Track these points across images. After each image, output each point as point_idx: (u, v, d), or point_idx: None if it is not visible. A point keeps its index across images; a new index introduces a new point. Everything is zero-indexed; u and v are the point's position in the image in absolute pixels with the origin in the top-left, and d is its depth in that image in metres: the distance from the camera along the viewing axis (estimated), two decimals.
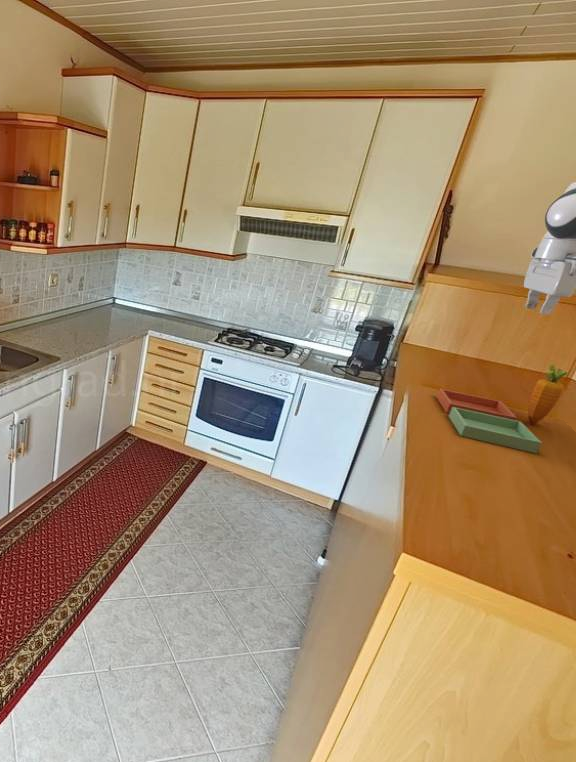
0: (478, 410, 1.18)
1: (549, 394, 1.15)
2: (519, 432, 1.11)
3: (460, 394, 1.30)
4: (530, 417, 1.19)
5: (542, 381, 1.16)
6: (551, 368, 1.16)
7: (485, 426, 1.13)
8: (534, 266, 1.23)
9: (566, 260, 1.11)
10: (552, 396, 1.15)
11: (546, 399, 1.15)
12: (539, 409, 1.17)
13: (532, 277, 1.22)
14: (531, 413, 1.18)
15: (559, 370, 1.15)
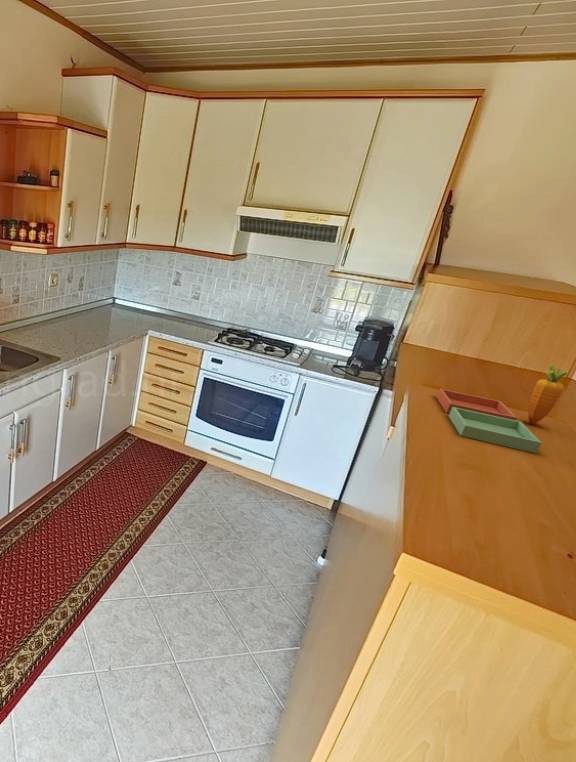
0: (478, 410, 1.18)
1: (549, 395, 1.15)
2: (519, 432, 1.11)
3: (460, 394, 1.30)
4: (530, 417, 1.19)
5: (542, 381, 1.16)
6: (551, 368, 1.16)
7: (485, 426, 1.13)
8: None
9: None
10: (552, 396, 1.15)
11: (546, 399, 1.15)
12: (539, 409, 1.17)
13: None
14: (531, 413, 1.18)
15: (559, 370, 1.15)
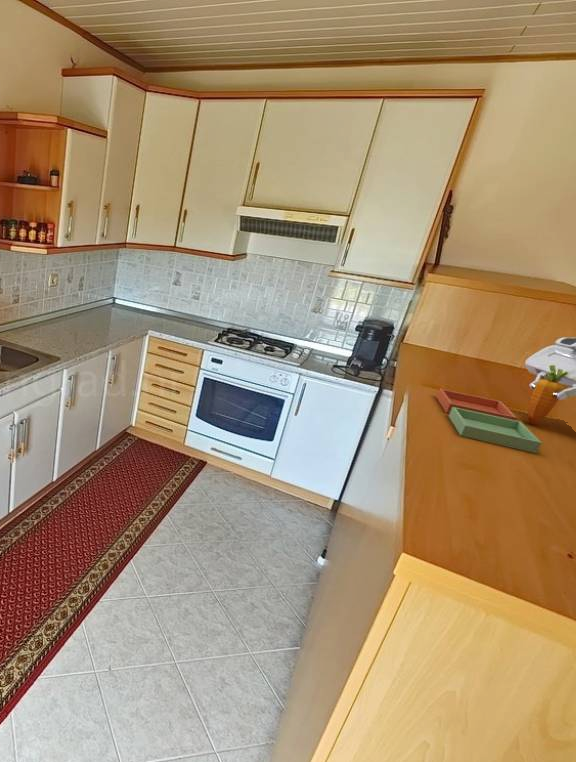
0: (478, 410, 1.18)
1: (549, 395, 1.15)
2: (519, 432, 1.11)
3: (460, 394, 1.30)
4: (530, 417, 1.19)
5: (542, 381, 1.16)
6: (551, 368, 1.16)
7: (485, 426, 1.13)
8: (552, 352, 1.21)
9: None
10: (553, 396, 1.15)
11: (546, 399, 1.15)
12: (539, 409, 1.17)
13: (548, 360, 1.20)
14: (531, 413, 1.18)
15: (559, 370, 1.15)
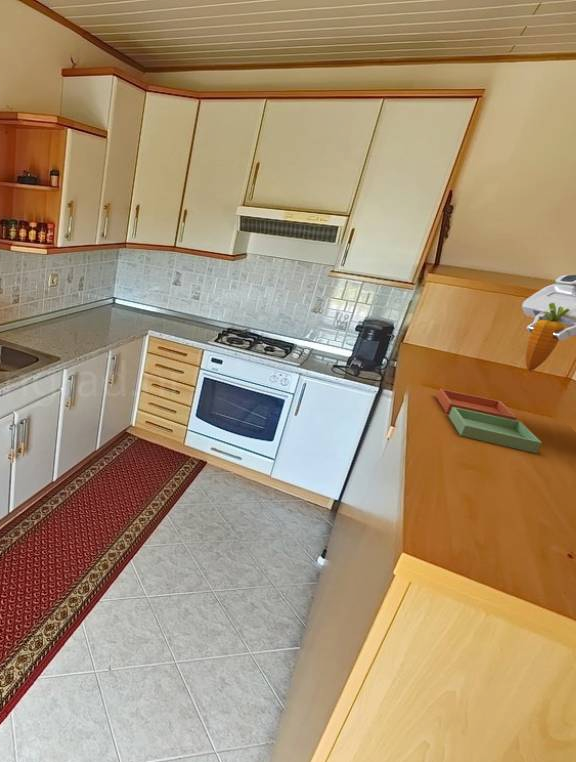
0: (478, 410, 1.18)
1: (548, 335, 1.03)
2: (519, 432, 1.11)
3: (460, 394, 1.30)
4: (528, 362, 1.07)
5: (541, 321, 1.04)
6: (551, 306, 1.04)
7: (485, 426, 1.13)
8: (552, 291, 1.09)
9: None
10: (552, 337, 1.03)
11: (545, 340, 1.04)
12: (538, 352, 1.05)
13: (547, 300, 1.09)
14: (529, 358, 1.07)
15: (560, 308, 1.03)
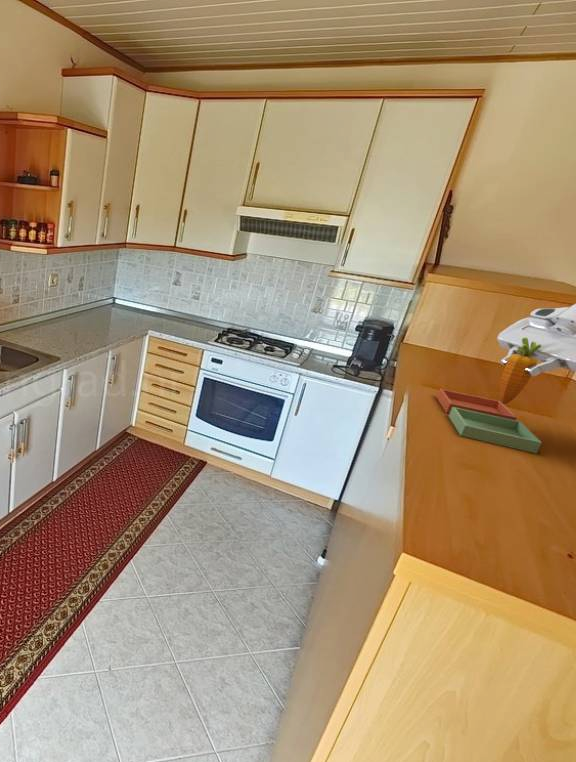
0: (478, 410, 1.18)
1: (521, 370, 1.04)
2: (519, 432, 1.11)
3: (460, 394, 1.30)
4: (501, 396, 1.08)
5: (514, 356, 1.05)
6: (524, 341, 1.04)
7: (485, 426, 1.13)
8: (527, 325, 1.10)
9: None
10: (525, 372, 1.03)
11: (518, 375, 1.04)
12: (511, 386, 1.06)
13: (521, 333, 1.09)
14: (503, 391, 1.07)
15: (532, 343, 1.04)
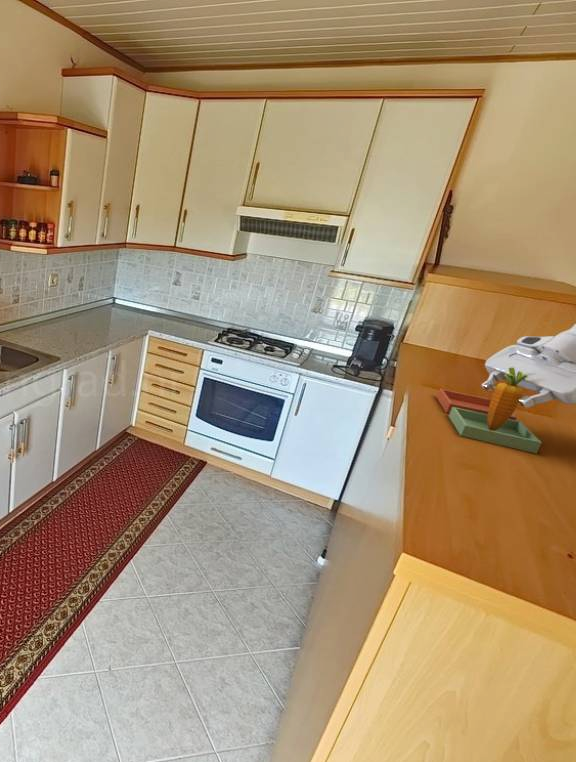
0: (478, 410, 1.18)
1: (508, 399, 1.06)
2: (519, 432, 1.11)
3: (460, 394, 1.30)
4: (489, 423, 1.10)
5: (501, 385, 1.07)
6: (510, 371, 1.07)
7: (485, 426, 1.13)
8: (513, 352, 1.12)
9: None
10: (512, 401, 1.06)
11: (505, 404, 1.07)
12: (498, 414, 1.08)
13: (508, 361, 1.11)
14: (490, 419, 1.09)
15: (519, 373, 1.06)
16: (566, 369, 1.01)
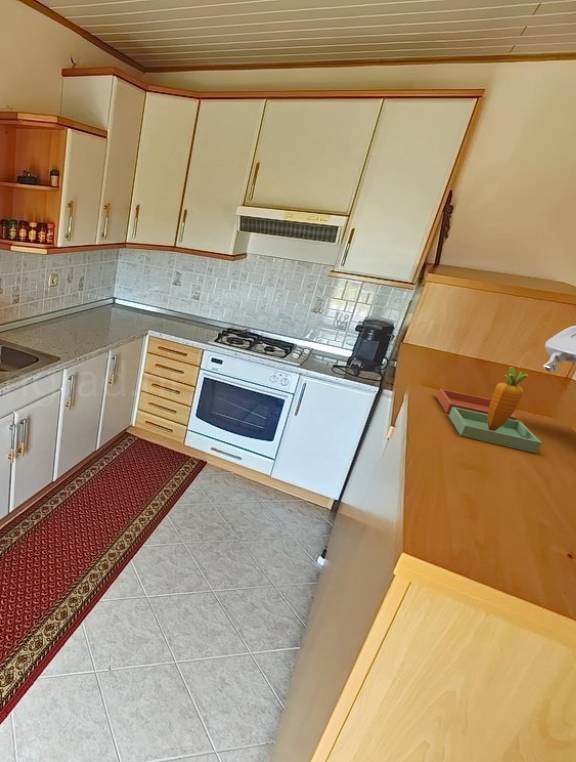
0: (478, 410, 1.18)
1: (508, 399, 1.06)
2: (519, 432, 1.11)
3: (460, 394, 1.30)
4: (489, 423, 1.10)
5: (501, 385, 1.07)
6: (511, 371, 1.07)
7: (485, 426, 1.13)
8: (575, 332, 1.11)
9: None
10: (512, 401, 1.06)
11: (505, 404, 1.07)
12: (498, 414, 1.08)
13: (570, 341, 1.10)
14: (490, 419, 1.09)
15: (519, 373, 1.06)
16: None
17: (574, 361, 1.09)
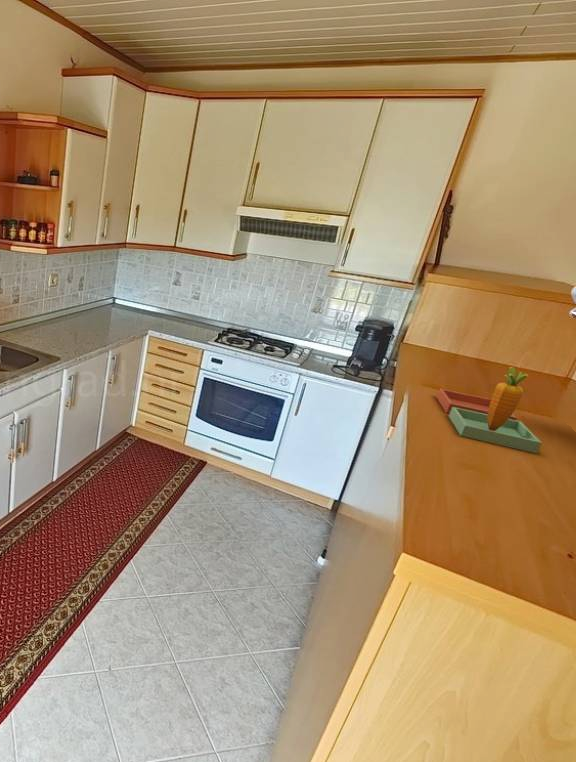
0: (478, 410, 1.18)
1: (508, 399, 1.06)
2: (519, 432, 1.11)
3: (460, 394, 1.30)
4: (489, 423, 1.10)
5: (501, 385, 1.07)
6: (511, 371, 1.07)
7: (485, 426, 1.13)
8: None
9: None
10: (512, 401, 1.06)
11: (505, 404, 1.07)
12: (498, 414, 1.08)
13: None
14: (490, 419, 1.09)
15: (519, 373, 1.06)
16: None
17: None
